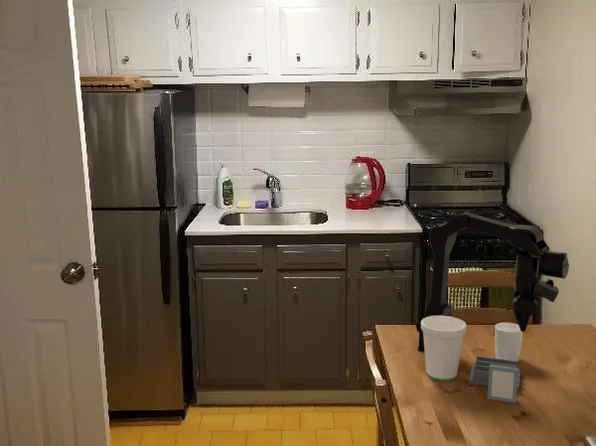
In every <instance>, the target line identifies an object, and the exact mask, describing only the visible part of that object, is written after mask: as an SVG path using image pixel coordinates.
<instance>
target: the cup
mask: <svg viewBox="0 0 596 446" xmlns="http://www.w3.org/2000/svg"><path fill="white" fill-rule="evenodd" d="M423 318H424V317H423ZM423 318H422V319H421V320H420V321H421V329H422V331H423V336H424V349H425V351H424V361H425V371H426V372H425V373H426V376H428V377H429V378H430V379H432V380H436V381H442V382H443V381H444V382H445V381H446V382H447V381H452V380H455V379H456V378H457V375H458V370H459V365H460V360H461V359H460V358H461V353H462V346H463V341H464V336H465V334H466V332H467V326H468V325H467V324H468V323H466V322H465V321H464V320H462V319H460V318H458V317H454V316H452V317H450V316H430V317H426V318H424V319H423Z"/></svg>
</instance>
